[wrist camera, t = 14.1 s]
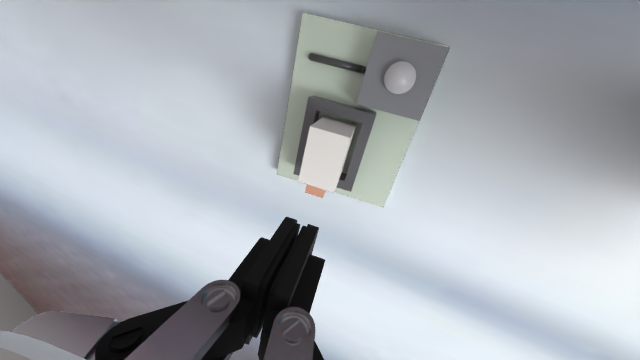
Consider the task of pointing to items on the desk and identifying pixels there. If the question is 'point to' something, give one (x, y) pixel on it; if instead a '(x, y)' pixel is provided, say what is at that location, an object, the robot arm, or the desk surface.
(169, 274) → the desk surface
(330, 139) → the plug
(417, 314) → the desk surface
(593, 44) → the desk surface
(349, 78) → the board
